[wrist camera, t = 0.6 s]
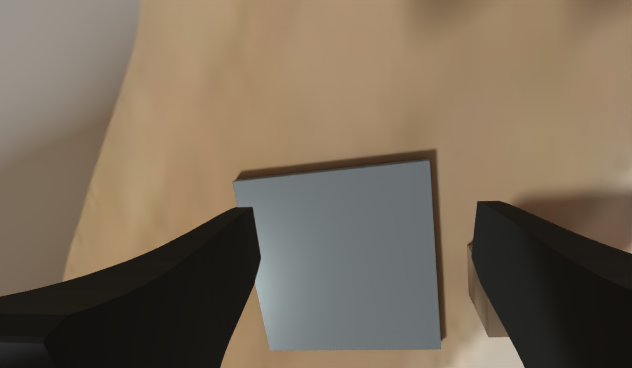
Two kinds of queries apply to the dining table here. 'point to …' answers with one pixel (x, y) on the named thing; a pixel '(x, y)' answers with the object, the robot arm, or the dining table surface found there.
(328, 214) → the grey flat square slab
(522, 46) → the dining table surface
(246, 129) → the dining table surface
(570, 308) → the robot arm
